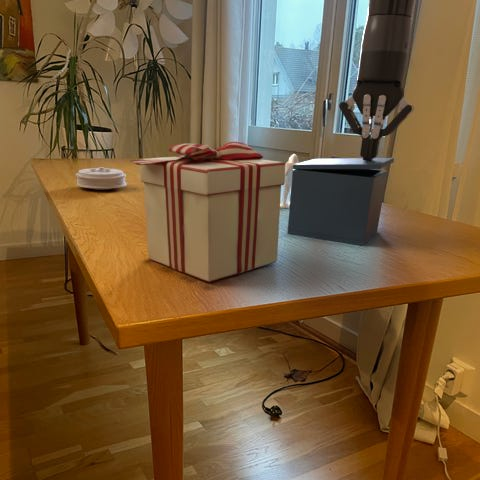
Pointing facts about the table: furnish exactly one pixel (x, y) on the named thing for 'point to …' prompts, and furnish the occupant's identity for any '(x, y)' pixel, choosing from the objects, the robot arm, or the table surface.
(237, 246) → the gift box
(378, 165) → the chest lid
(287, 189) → the figurine
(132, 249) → the table surface
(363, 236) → the chest
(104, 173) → the lid
